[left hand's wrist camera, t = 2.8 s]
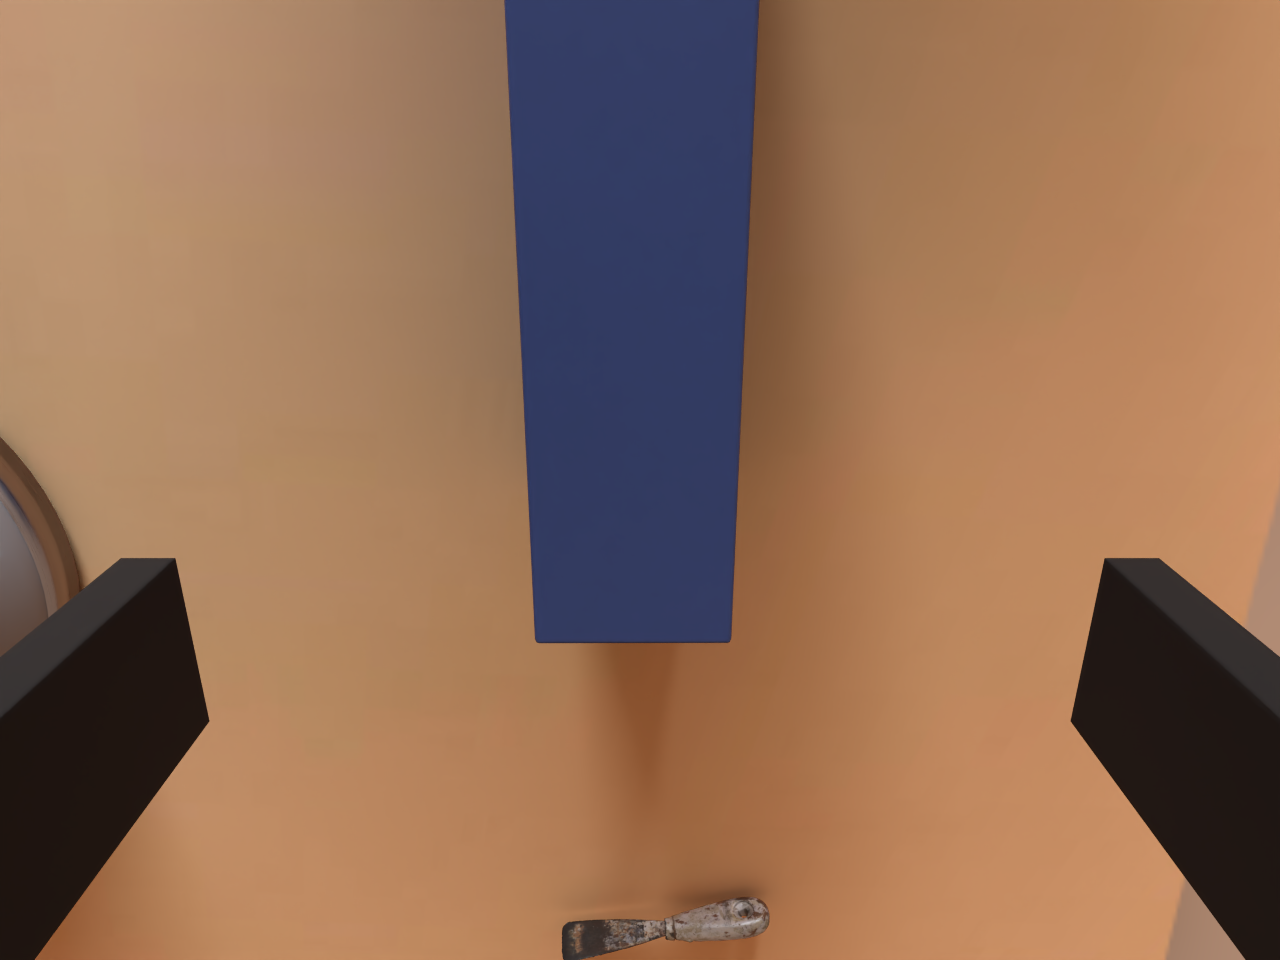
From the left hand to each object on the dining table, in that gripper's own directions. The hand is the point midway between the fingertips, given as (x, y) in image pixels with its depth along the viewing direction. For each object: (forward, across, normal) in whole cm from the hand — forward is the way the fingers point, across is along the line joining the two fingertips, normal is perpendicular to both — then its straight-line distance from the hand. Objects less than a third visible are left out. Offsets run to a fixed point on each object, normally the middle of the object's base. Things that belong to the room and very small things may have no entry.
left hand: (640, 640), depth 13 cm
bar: (+15, 0, -8) cm, 17 cm away
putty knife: (+15, -1, +22) cm, 26 cm away
